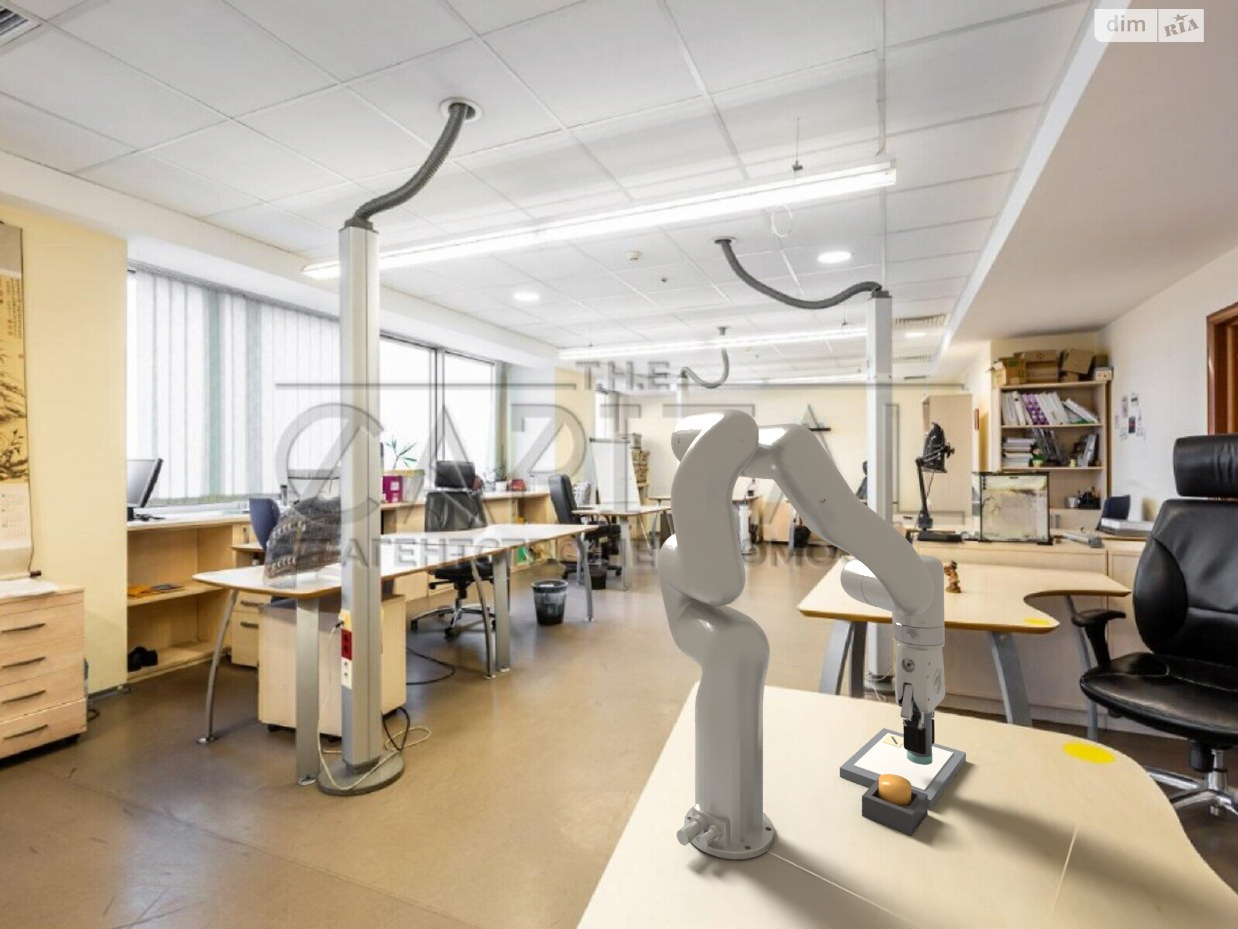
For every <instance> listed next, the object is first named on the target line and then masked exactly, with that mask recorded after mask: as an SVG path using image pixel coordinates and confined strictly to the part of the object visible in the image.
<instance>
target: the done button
mask: <svg viewBox="0 0 1238 929" xmlns="http://www.w3.org/2000/svg"><path fill="white" fill-rule="evenodd" d="M879 797H880V798H881V799H882V800H884V801H887V802H890V803H892V804H895V805H898V806H908V805H910V804H911V783H910V781H908V780H907V779H906V778H904V777H901V776H898V775H894V774H883V775H881V776H880V777H879Z"/></svg>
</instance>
